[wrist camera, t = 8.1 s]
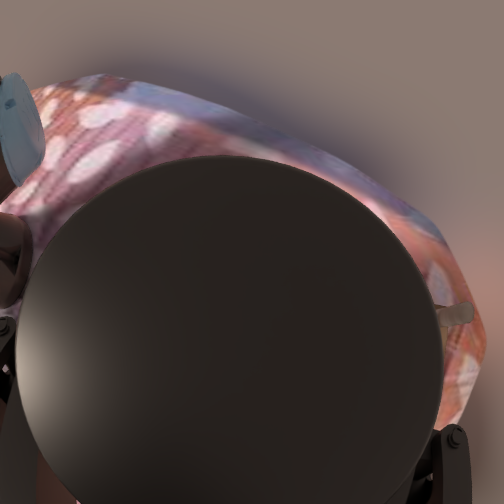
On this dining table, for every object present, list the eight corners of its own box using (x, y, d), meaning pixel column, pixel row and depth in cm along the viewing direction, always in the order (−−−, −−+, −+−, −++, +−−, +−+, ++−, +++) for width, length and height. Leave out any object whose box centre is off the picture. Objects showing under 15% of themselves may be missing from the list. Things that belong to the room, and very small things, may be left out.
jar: (145, 386, 14) (-13, 434, 2) (190, 264, 16) (98, 121, 5) (287, 437, 13) (354, 578, 2) (331, 312, 16) (483, 243, 4)
